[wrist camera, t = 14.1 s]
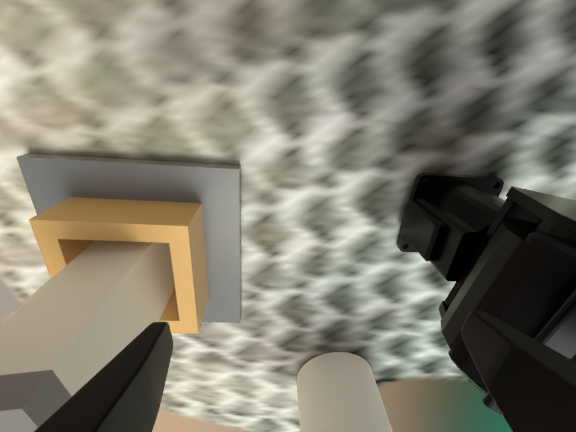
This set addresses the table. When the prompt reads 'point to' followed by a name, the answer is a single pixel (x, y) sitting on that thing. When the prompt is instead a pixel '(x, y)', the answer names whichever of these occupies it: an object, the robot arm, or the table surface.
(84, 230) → the socket plate
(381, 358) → the table surface
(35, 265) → the table surface
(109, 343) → the plug
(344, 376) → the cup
